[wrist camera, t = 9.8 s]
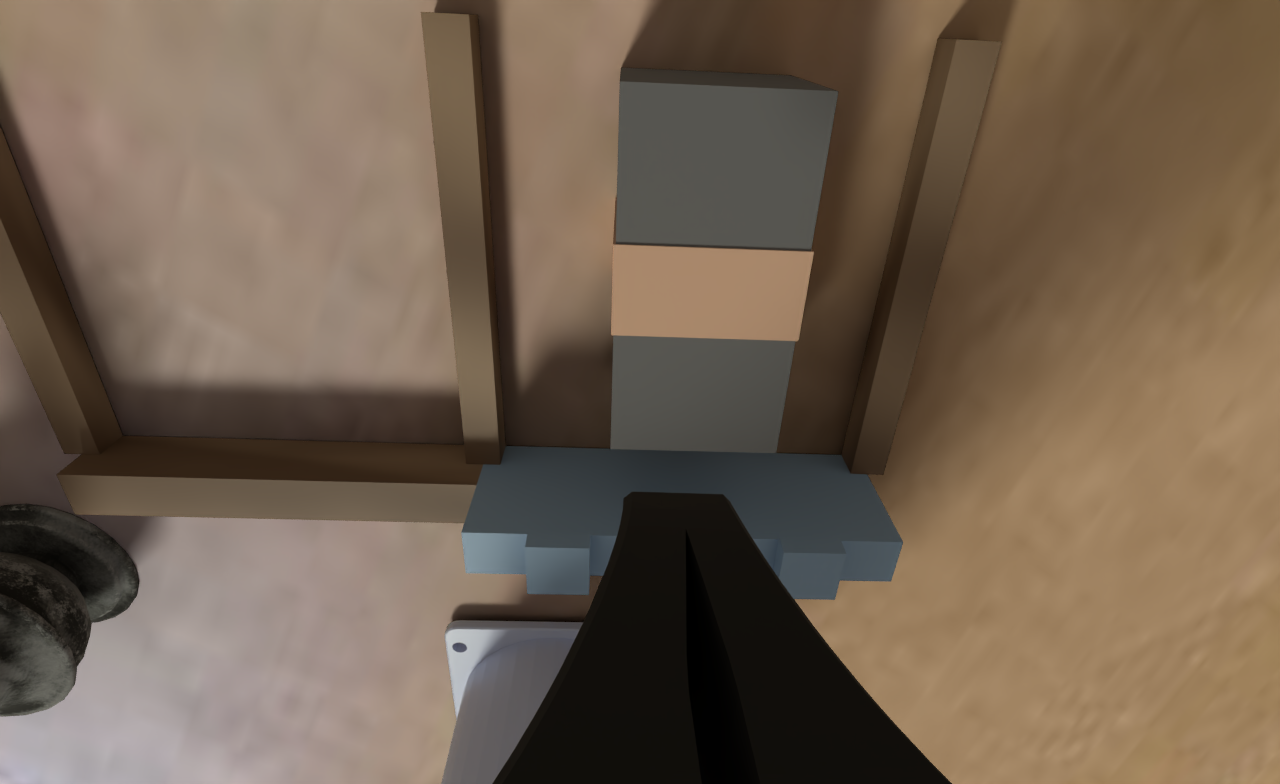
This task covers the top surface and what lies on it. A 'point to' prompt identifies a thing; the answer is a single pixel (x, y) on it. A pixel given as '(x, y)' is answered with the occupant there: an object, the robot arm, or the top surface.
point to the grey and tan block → (712, 253)
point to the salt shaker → (53, 601)
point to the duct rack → (484, 466)
